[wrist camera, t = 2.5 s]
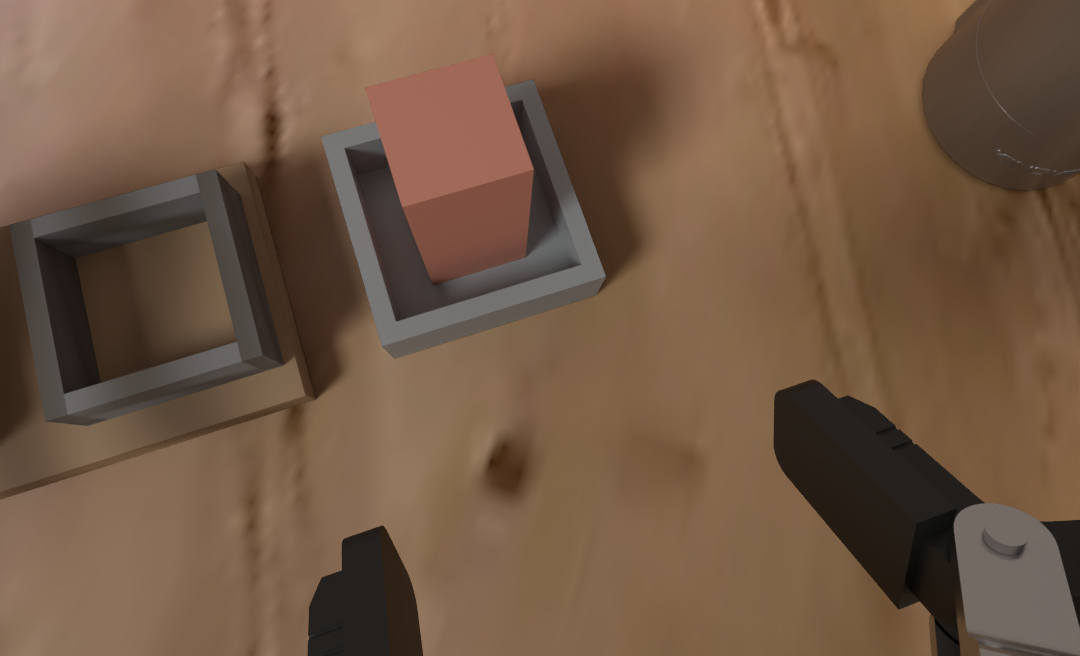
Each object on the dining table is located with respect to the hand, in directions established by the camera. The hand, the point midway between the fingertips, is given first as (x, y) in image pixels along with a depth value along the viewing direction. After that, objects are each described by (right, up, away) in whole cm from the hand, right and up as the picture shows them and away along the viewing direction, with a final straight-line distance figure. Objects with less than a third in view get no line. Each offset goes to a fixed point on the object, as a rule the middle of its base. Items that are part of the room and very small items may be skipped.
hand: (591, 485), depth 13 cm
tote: (-4, +8, +18) cm, 20 cm away
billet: (-4, +8, +17) cm, 19 cm away
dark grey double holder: (-22, +2, +16) cm, 27 cm away
